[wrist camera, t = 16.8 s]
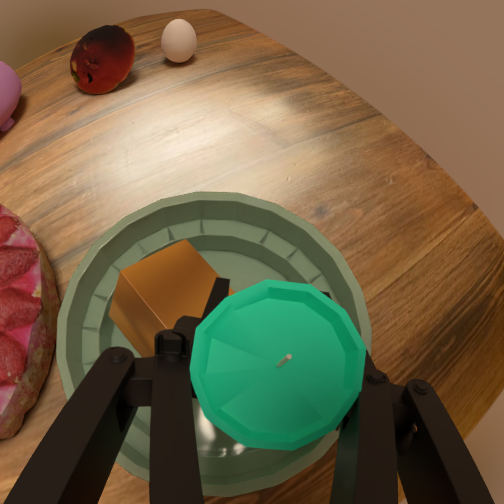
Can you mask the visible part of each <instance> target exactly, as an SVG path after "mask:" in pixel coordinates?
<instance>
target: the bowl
mask: <svg viewBox="0 0 504 504" xmlns="http://www.w3.org/2000/svg"><path fill="white" fill-rule="evenodd" d="M184 239H186V240H187V241H188V242H189V243H190V244H191V245H192V246H193V247H194V248H195V250H196V251H197V252H198V253H199V254H200V255H201V256H202V257H203V258H204V259H205V261H206V262H207V263H208V264H209V265H210V266H211V267H212V268H213V269H214V270H215V271H216V272H217V274H218V275H219V276H220V277H221V278H227V279H230V285H229V287H230V288H231V289H232V290H233V291H234V292H235V293H237V292H239V291H241V290H244V289H246V288H248V287H250V286H253V285H255V284H257V283H260V282H262V281H264V280H266V279H270V280H278V281H286V282H295V283H303V284H311V285H312V286H314V287H315V288H316V289H318V290H319V291H323V292H329V293H330V296H331V298H332V300H333V301H334V302H335V303H337V304H338V305H339V306H341V307H342V308H343V309H345V310H346V312H347V314H348V315H349V317H350V319H351V321H352V323H353V324H354V326H355V328H356V330H357V332H358V333H359V335H360V337H361V339H362V341H363V342H364V344H365V346H366V348H367V350H368V352H369V355H370V357H371V344H372V329H371V324H370V320H369V316H368V312H367V307H366V303H365V299H364V295H363V291H362V290H361V287H360V285H359V283H358V282H357V280H356V278H355V276H354V275H353V273H352V271H351V269H350V268H349V266H348V264H347V262H346V261H345V259H344V257H343V256H342V254H341V252H340V251H339V250H338V249H337V248H336V247H335V246H334V245H333V244H332V243H331V242H330V241H329V240H328V239H327V238H326V237H325V236H324V235H323V234H322V233H321V232H320V231H318V230H317V229H316V228H315V227H314V226H313V225H312V224H311V223H309V222H307V221H305V220H304V219H302V218H300V217H299V216H297V215H295V214H293V213H292V212H290V211H288V210H286V209H285V208H283V207H281V206H279V205H278V204H277V205H276V203H272V202H269V201H265V200H262V199H258V198H255V197H251V196H248V195H244V194H240V193H231V192H193V193H188V194H184V195H179V196H174V197H170V198H165V199H161V200H160V201H159V200H158V201H156V202H154V203H152V204H150V205H148V206H146V207H144V208H142V209H140V210H138V211H136V212H134V213H132V214H130V215H128V216H126V217H124V218H123V219H121V220H120V221H119V222H118V223H117V224H115V225H114V226H113V227H112V228H111V229H110V230H108V231H107V232H106V233H105V234H104V235H103V236H101V237H100V238H99V239H98V240H97V241H96V242H95V243H94V244H93V245H92V247H91V248H90V249H89V251H88V252H87V254H86V255H85V257H84V258H83V260H82V261H81V263H80V264H79V266H78V267H77V269H76V270H75V272H74V273H73V275H72V276H71V277H72V278H70V281H69V284H68V287H67V290H66V293H65V296H64V299H63V302H62V305H61V308H60V311H59V314H58V320H57V346H56V359H57V364H58V368H59V372H60V376H61V380H62V384H63V387H64V391H65V394H66V398H67V401H68V400H69V399H70V397H71V396H72V394H73V393H74V391H75V390H76V388H77V387H78V386H79V384H80V383H81V381H82V380H83V378H84V377H85V376H86V374H87V373H88V371H89V370H90V369H91V367H92V366H93V364H94V363H95V362H96V360H97V359H98V357H99V356H100V355H101V353H102V352H103V351H104V350H105V349H108V348H110V347H116V346H119V347H125V348H128V349H130V350H131V351H132V352H133V354H134V357H137V358H142V357H141V356H140V354H139V353H138V352H137V351H136V349H135V348H134V347H133V346H132V345H131V343H130V342H129V341H128V340H127V338H126V337H125V336H124V334H123V333H122V332H121V331H120V329H119V328H118V327H117V325H116V324H115V323H114V321H113V320H112V319H111V317H110V316H109V311H110V307H111V303H112V299H113V295H114V291H115V288H116V284H117V280H118V277H119V273H120V271H121V270H123V269H125V268H127V267H129V266H131V265H133V264H135V263H137V262H139V261H141V260H143V259H145V258H147V257H149V256H151V255H153V254H155V253H157V252H159V251H161V250H163V249H165V248H167V247H169V246H171V245H173V244H176V243H178V242H180V241H182V240H184ZM192 403H193V414H194V424H195V434H196V444H197V452H198V461H199V469H200V477H201V484H202V492H203V496H219V497H229V496H230V497H232V496H237V495H241V494H246V493H250V492H254V491H258V490H262V489H265V488H269V487H273V486H276V485H279V484H281V483H283V482H284V481H286V480H288V479H289V478H291V477H292V476H294V475H296V474H297V473H299V472H300V471H302V470H304V469H305V468H307V467H308V466H310V465H311V464H313V463H314V462H316V461H317V460H319V459H320V458H321V457H323V456H324V454H325V453H326V452H327V451H328V450H329V449H330V447H331V446H332V445H333V444H334V443H335V441H336V440H337V439H338V438H339V430H340V428H339V429H338V431H335V430H336V429H335V430H333V431H331V432H330V433H328V434H326V435H324V436H322V437H320V438H318V439H316V440H314V441H312V442H310V443H308V444H306V445H304V446H302V447H300V448H298V449H296V450H294V451H290V450H275V449H263V448H253V447H245V446H243V445H242V444H240V443H239V442H237V441H236V440H235V439H233V438H232V437H230V436H229V435H228V434H226V433H225V432H223V431H222V430H221V429H219V428H218V427H217V426H215V425H214V424H213V423H211V422H210V421H209V420H207V419H206V418H205V416H204V413H203V411H202V408H201V406H200V403H199V401H198V399H195V398H192ZM150 420H151V407H138V410H137V412H136V415H135V417H134V419H133V421H132V424H131V426H130V428H129V430H128V433H127V435H126V437H125V440H124V442H123V444H122V446H121V449H120V451H119V453H118V456H117V458H116V460H115V462H116V463H118V464H119V465H120V466H121V467H123V468H124V469H125V470H126V471H128V472H129V473H130V474H132V475H134V476H136V477H138V478H141V479H143V480H145V481H148V482H149V453H150ZM336 428H337V427H336Z"/></svg>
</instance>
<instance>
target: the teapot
mask: <svg viewBox="0 0 504 504" xmlns="http://www.w3.org/2000/svg"><path fill="white" fill-rule="evenodd" d="M21 90H22V84H21V81H20V79H19V77H18V76H17V74H16V73H15V72H14V71H13V69H12V68H10V67H9V66H8V65H7V64H5V63H4V62H2V61H0V130H1V131H6V130H7V129H9V128H10V127H11V126H12V125H13V123H14V120H13V119H12V118H11V117H10V116H11V114H12V113H13V111H14V110H15V108H16V106H17V104H18V101H19V98H20V94H21Z"/></svg>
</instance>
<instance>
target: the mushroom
mask: <svg viewBox="0 0 504 504" xmlns="http://www.w3.org/2000/svg"><path fill="white" fill-rule="evenodd" d="M134 58H135V43H134V40H133V38H132V35H131V34H130V33H129V32H127V31H126V29H125V28H122V27H119V26H117V25H113V26H110V25H105V26H102V27H100V28H97V29H94V30H92V31H90V32H88V33H87V34H86V35H85V36H83V37H82V38H81V39H80V40H79V42H78V43H77V45H76V46H75V48H74V50H73V53H72V56H71V59H70V69H71V74H72V76H73V78H74V81H75V82H76V85H77V86H78V87H79V88H80V89H82V90H83V91H85V92H87V93H92V94H101V93H106V92H109V91H111V90H112V89H114V88H115V87H116V86H117V85H118V84H119V83H121V82H122V81H123V80H124V79H125V78H126V77H127V75H128V74H129V72H130V70H131V68H132V66H133V63H134Z"/></svg>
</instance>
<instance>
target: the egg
mask: <svg viewBox="0 0 504 504" xmlns="http://www.w3.org/2000/svg"><path fill="white" fill-rule="evenodd" d="M196 45H197V39H196V34H195V32H194V30H193V28H192V26H191V25H190V24H189V23H188V22H187V21H185V20H182V19H176V20H173V21H172V22H170V23H169V24H168V25H167V26H166V28H165V30H164V32H163V35H162V39H161V47H162V51H163V53H164V54H165V56H166V57H167V58H168V59H169V60H171V61H173V62H176V63H182V62H185V61H187V60H188V59H189V58H190V57H191V56H192V55H193V53H194V52H195V49H196Z"/></svg>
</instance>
